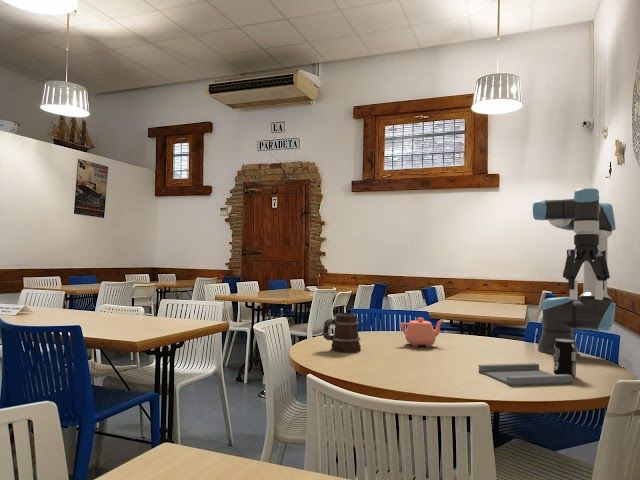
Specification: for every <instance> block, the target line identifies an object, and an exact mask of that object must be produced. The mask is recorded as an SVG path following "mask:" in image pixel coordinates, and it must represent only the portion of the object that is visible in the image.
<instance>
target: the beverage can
mask: <svg viewBox="0 0 640 480" xmlns="http://www.w3.org/2000/svg"><path fill="white" fill-rule="evenodd" d="M555 340H556V341H555V343H554V354H553V374H554V375H559V374H569V375H572V376H573V378H575V377H576V376H577V372H576V371H577V354H576V346H577V344H576V345H575V343H576V342H575V343H574V340H570V339H555Z"/></svg>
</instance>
